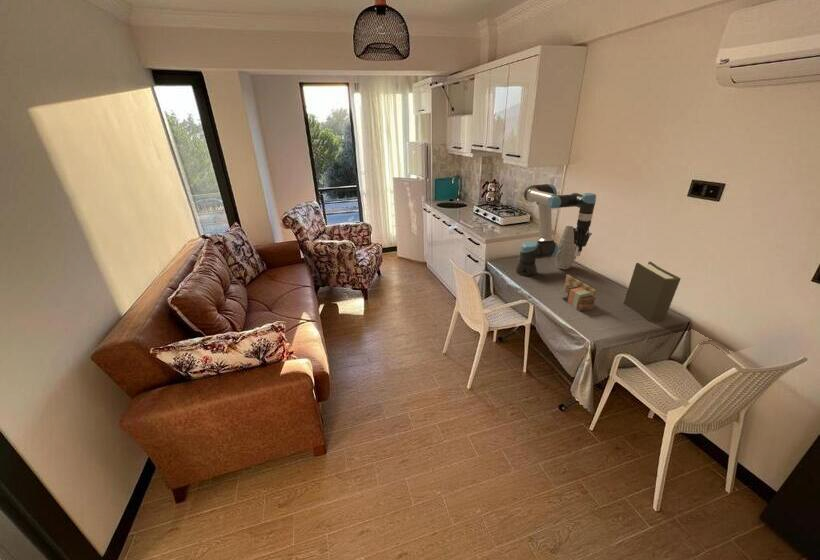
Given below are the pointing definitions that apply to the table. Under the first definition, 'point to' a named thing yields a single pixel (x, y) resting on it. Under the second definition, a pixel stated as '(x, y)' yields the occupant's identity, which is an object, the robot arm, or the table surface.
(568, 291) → the bookend
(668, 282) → the book
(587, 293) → the book green
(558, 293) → the table surface
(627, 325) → the table surface
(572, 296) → the book rust
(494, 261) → the table surface
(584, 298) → the shelf
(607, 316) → the table surface
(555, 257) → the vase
